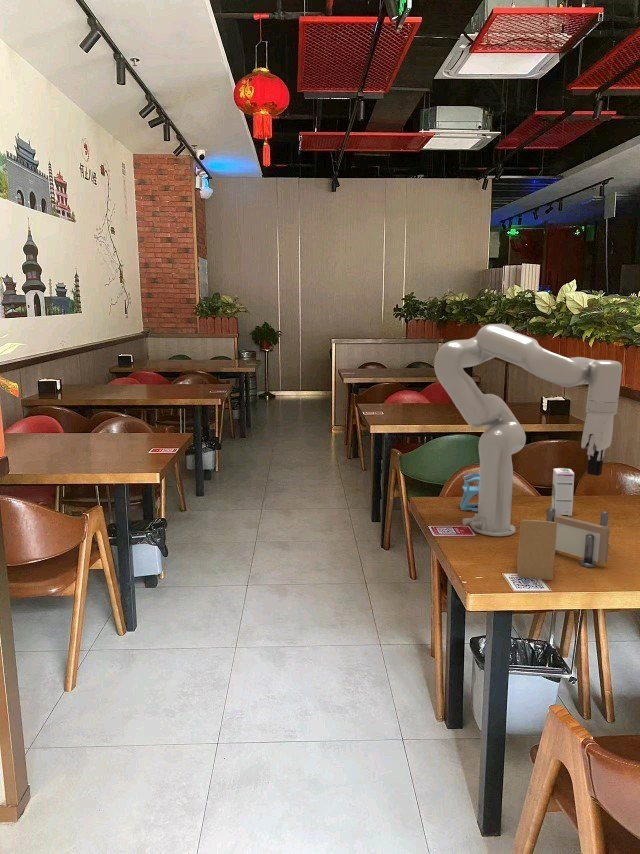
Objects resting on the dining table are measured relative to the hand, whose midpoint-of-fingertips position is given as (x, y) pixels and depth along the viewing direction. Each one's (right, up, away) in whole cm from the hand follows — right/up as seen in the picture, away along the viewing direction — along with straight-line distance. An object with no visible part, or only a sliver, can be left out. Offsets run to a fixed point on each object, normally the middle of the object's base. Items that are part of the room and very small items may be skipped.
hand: (594, 474), depth 175 cm
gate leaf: (-5, -21, -3) cm, 22 cm away
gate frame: (-2, -22, 0) cm, 22 cm away
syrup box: (+5, -16, +38) cm, 41 cm away
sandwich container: (-19, -24, -7) cm, 31 cm away
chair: (-23, -15, +42) cm, 50 cm away
